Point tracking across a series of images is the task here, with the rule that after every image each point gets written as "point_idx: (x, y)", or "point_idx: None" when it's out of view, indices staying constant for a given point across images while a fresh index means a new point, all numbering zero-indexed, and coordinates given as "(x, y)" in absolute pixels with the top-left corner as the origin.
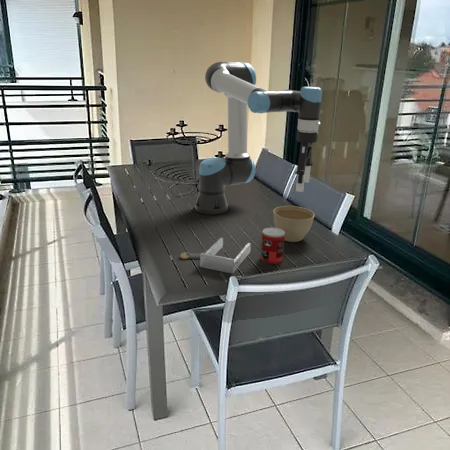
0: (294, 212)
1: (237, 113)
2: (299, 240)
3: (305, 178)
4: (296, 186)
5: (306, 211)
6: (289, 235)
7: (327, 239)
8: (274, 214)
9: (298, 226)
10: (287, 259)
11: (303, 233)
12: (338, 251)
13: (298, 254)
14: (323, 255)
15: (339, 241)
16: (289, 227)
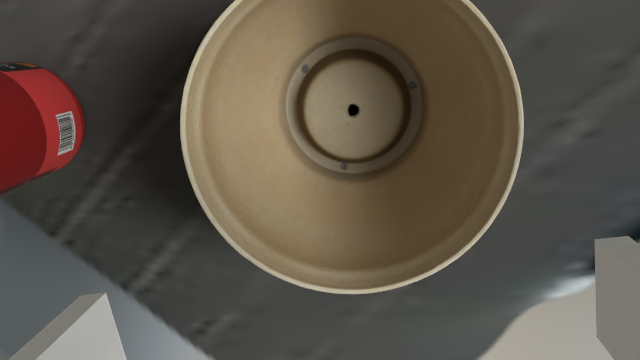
0: (494, 92)
1: None
2: (319, 169)
3: (626, 323)
4: (40, 337)
5: (488, 198)
6: (253, 134)
7: (434, 285)
8: (229, 8)
9: (235, 206)
10: (90, 182)
11: (296, 209)
12: (313, 356)
13: (171, 210)
14: (231, 309)
15: (438, 340)
16: (215, 149)
